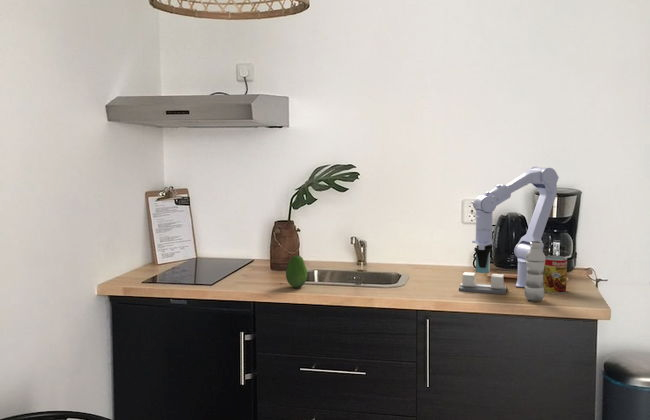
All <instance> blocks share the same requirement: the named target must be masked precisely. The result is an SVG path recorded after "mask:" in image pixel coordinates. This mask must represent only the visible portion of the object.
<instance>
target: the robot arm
mask: <svg viewBox="0 0 650 420" xmlns="http://www.w3.org/2000/svg"><path fill="white" fill-rule="evenodd" d="M558 181H559V175H558V174H557V171H556V170H555V169H554V168H552V167H539V166H532V167H531V168H530V169H529V168H528V169H526V170H525V171H524V173H522V174H521V175H519V176H518V177H516V178H515V179H513V180H512V181H510V182H508V183H507V184H497V185H495V187H494V188H493V189H492V190H490V191H486V192H484V195H483V194H481V195H478V196H476V197H475V199H474V201H473V202H472V206H473V209H474V210H475V239H473V240H472V241H471V242H472V244H476V246H475V247H474V248H473V249H474V252H475V255H476V254H477V257H478V263H479V267H480V268H486V264H487V258H488V255H489V252H490V253H491V250H492V248H493V247H494V246H493V216H494V215H493V212H494V211H495V210H496V208H497V206H499V205H501V204H503V203H504V202H505V201H507V200H509V199H510V198H511V196H512V193H514V192H516V191H518V190H519V189H522V188H524V187H526V186H528V185H529V184H531V185H532V186H533V187H535V189H536V190H537V191H538V193H539V196H538V199H537V202H536V205H535V208H534V211H533V214H532V216H531V220H530V221H529V224H528V229H527V230H526V234H525V235H523V236H521V238H520V239H519V241H518V243H517V244H516V245H515V247H514V249H513V252H514V253H513V254H514V255H515V257H516V258H517V280H516V284H515V288H525V286H526V280H527V266H526V255H527V253H528V252H529V250H530V249H531V247H530V242H531V241H540V242H542V248H541V250H542V251H543V250H544V248H545V247H544V246H545V245H544V243H543V240H542V238H543V235H544V231H545V228H546V226H547V222H548V220H549V218H550V215H551V211H552V208H553V206H554V204H555V201H556V200H555V199H556V197H557V194H558V193H557V192H558V190H557V189H558V188H557V187H558V186H557V184H558ZM543 252H544V251H543Z"/></svg>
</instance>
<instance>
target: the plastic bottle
mask: <svg viewBox="0 0 650 420" xmlns="http://www.w3.org/2000/svg"><path fill="white" fill-rule="evenodd" d="M542 242H543V241H542ZM542 242H540V241H531V242H530V247H531V249H530V250H529V252H528V253H527V255H526V266H527V280H526V286H525V287H524V297H525V299H526V300H529V301H532V302H540V301H543V300H544V298H545V294H546V292H545V291H544V285H543V273H544V266H545V260H546V258H545V256H546V255H545V253H544V251H542V250H541V248H542Z"/></svg>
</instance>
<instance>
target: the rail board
mask: <svg viewBox="0 0 650 420" xmlns="http://www.w3.org/2000/svg"><path fill="white" fill-rule="evenodd" d="M504 277H505V276H504V273H503V274H499V273H492V274H491V276H490V284H488V283H487V284H486V283H477V282H476V272H470V271H464V272H463V273H462V282H461V283H460V284H459V286H458V292H469V293H471V292H472V293H482V294H484V293H485V294H497V295H505V294H506V291H507V288H508V287H507V285H504V279H505V278H504Z"/></svg>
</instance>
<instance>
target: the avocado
mask: <svg viewBox="0 0 650 420" xmlns="http://www.w3.org/2000/svg"><path fill="white" fill-rule="evenodd" d="M307 277H308V270H307V266H306V264H305V261H304V259H303V257H302V256H301V255H294V256H293V257H292V258H291V259H290V261H288V265H287V268H286V270H285V279H286V280H287V282H288V284H289V285H290V286H291V287H293V288H296V289H297V288H301V287H303V286H304V285H305V283H306V282H307Z"/></svg>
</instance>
